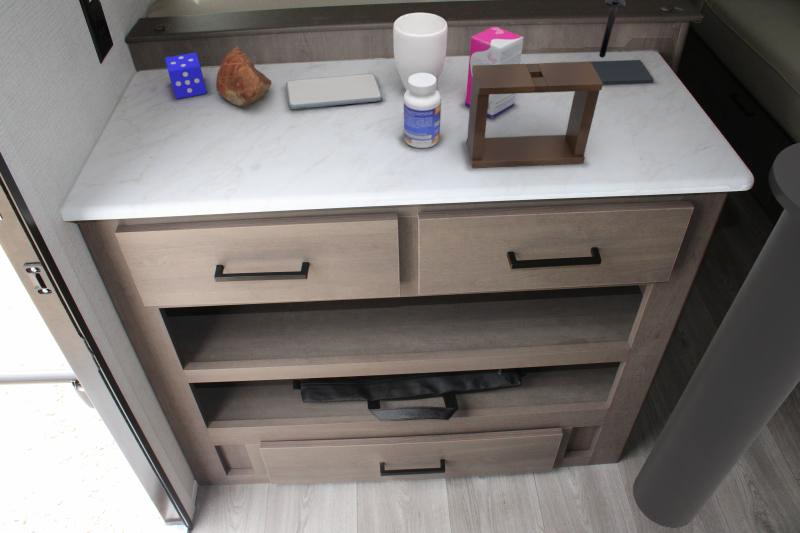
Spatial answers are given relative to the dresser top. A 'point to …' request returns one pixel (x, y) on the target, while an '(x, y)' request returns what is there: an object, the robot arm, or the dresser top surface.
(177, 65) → the die
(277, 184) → the dresser top surface
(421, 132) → the pill bottle
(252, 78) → the reddish-brown rock
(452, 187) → the dresser top surface
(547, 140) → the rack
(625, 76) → the mat
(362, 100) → the smartphone
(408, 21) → the mug
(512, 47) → the supplement box
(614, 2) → the T-handle
